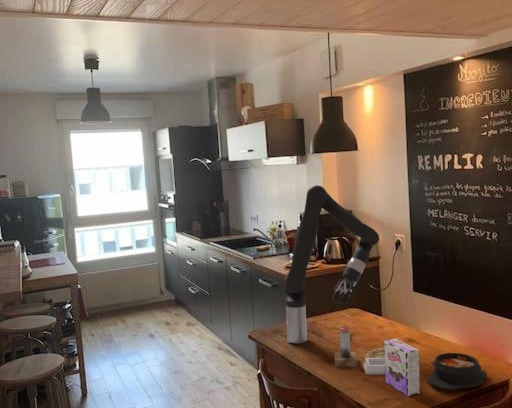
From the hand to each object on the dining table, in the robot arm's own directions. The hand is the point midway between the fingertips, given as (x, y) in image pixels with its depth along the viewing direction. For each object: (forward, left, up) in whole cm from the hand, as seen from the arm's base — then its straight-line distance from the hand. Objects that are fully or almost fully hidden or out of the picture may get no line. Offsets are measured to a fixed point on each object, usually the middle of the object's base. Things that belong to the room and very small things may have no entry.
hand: (338, 301), depth 233 cm
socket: (+13, -23, -22) cm, 34 cm away
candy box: (+20, -40, -22) cm, 50 cm away
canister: (+1, -16, -19) cm, 25 cm away
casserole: (+41, -35, -22) cm, 59 cm away
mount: (+1, -16, -22) cm, 27 cm away
